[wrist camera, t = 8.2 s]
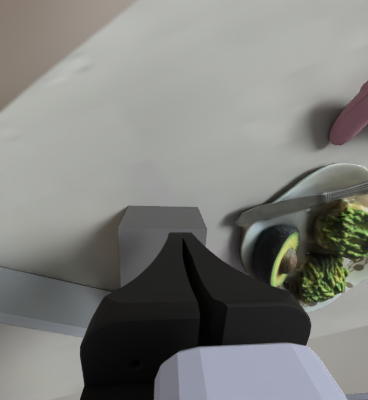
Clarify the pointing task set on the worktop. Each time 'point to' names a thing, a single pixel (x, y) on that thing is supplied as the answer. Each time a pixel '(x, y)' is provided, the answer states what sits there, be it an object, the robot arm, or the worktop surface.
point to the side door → (47, 303)
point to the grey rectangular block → (152, 235)
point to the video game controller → (351, 118)
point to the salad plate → (311, 236)
